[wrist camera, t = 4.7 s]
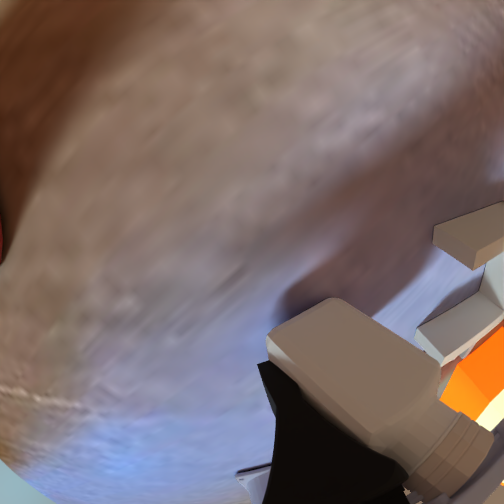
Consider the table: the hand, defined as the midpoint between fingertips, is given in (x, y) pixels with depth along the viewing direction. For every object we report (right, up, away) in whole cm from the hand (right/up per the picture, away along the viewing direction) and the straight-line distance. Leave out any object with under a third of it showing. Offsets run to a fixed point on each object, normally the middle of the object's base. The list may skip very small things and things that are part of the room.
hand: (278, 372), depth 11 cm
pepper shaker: (+1, +1, +1) cm, 2 cm away
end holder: (+13, +4, +3) cm, 13 cm away
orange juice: (+24, -8, +12) cm, 28 cm away
